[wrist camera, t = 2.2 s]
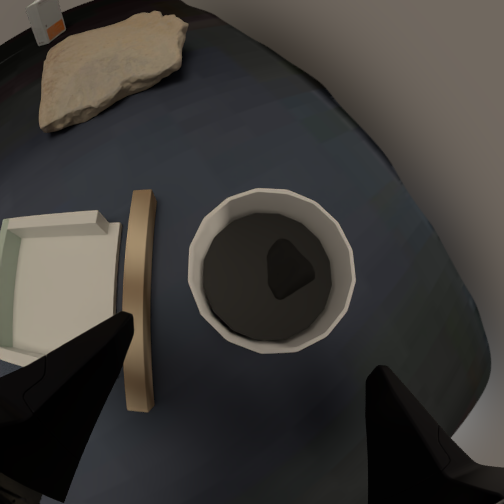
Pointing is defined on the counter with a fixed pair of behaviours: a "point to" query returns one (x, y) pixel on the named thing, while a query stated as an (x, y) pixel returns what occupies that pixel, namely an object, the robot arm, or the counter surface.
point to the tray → (55, 280)
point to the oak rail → (139, 301)
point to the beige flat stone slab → (108, 67)
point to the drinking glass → (271, 271)
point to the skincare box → (45, 20)
